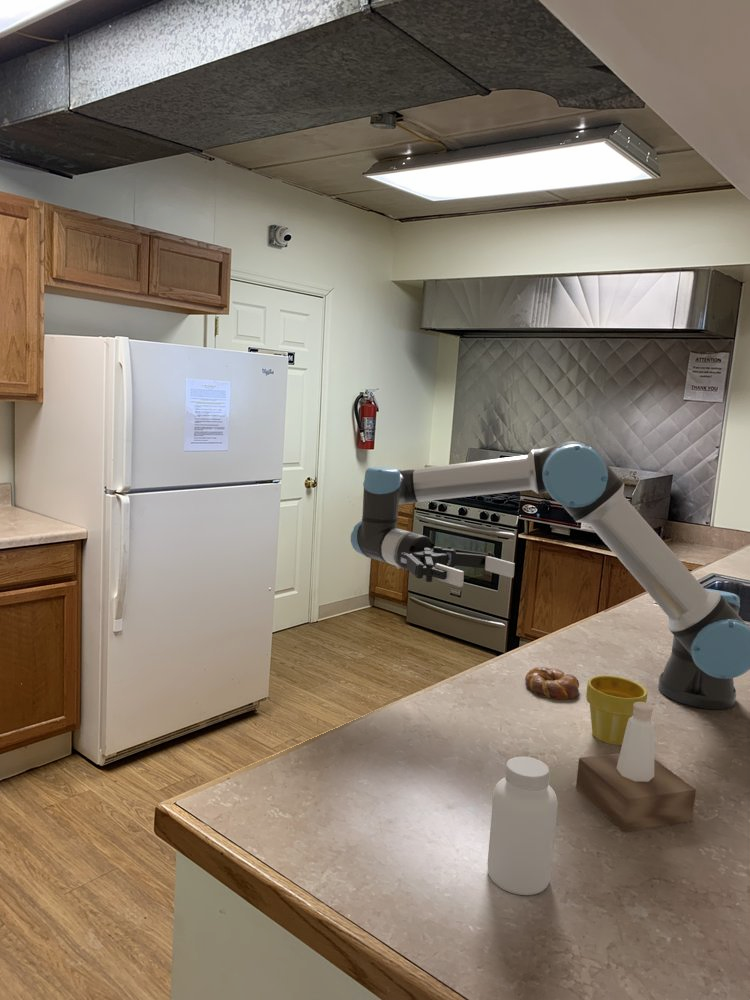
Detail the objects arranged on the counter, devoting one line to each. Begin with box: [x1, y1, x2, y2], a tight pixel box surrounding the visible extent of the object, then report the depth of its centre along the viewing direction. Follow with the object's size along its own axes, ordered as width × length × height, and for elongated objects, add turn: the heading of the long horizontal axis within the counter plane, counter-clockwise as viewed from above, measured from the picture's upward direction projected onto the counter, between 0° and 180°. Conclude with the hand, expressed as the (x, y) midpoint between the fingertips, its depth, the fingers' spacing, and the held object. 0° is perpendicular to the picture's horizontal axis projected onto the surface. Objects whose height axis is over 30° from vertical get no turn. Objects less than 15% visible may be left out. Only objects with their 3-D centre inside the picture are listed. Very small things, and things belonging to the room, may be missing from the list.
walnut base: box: [575, 752, 697, 833], centre depth 112 cm, size 12×12×5 cm
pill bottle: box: [487, 756, 559, 896], centre depth 92 cm, size 8×8×15 cm
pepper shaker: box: [617, 702, 656, 782], centre depth 110 cm, size 5×5×11 cm
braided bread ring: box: [525, 666, 580, 700], centre depth 154 cm, size 12×11×4 cm
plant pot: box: [585, 674, 648, 746], centre depth 133 cm, size 10×10×10 cm
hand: (488, 574), depth 132 cm, fingers open, 13 cm apart
